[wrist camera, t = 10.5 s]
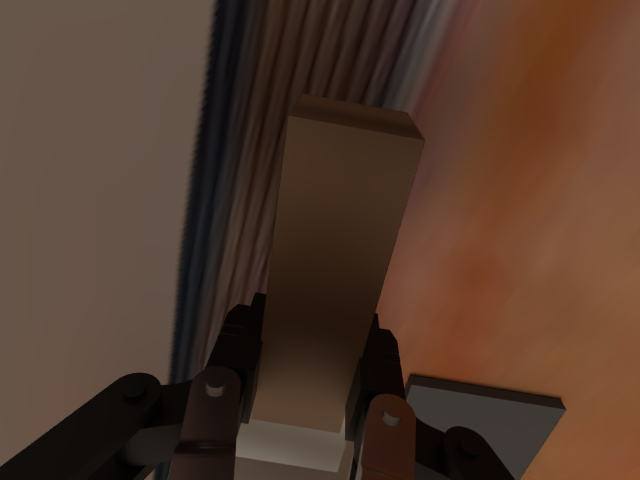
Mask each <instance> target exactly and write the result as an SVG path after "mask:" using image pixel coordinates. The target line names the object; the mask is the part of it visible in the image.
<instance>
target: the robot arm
mask: <svg viewBox="0 0 640 480" xmlns="http://www.w3.org/2000/svg"><path fill="white" fill-rule="evenodd" d="M265 302H266V294H262V293H255V294H254V297H253V300H252V303H251V306H247V305H241V304H237V305H236V306H235V307H234V308H233V309H232V310H230V311H229V312H228V314H227V317H226V319H225V321H224V325H223V326H222V329H221V331H220V334H219V336H218V338H217V341H216V343H215V346H214V348H213V351H212V353H211V355H210V358H209V360H208V363H207V365H206V367H205V369H203V370H201V371H200V372H198V373H197V374H196V375H195V377H194V378H193V379H192V380H189V381H187V382H183V383H178V384H169V385H161V384H160V382H159V380H158V379H157V378H156V377H154V376H152V375H150V374H147V373H132V374H128V375H125V376H123V377H121V378H119V379H118V380H116V381H115V382H113V383H112V384H111V385H109V386H108V387H107V388H105V389H104V390H103V391H101V392H100V393H99V394H97V395H96V396H95V397H93V398H92V399H91V400H89V401H88V402H87V403H85V404H84V405H83V406H81V407H80V408H78V409H77V410H76V411H74V412H73V413H72V414H70V415H69V416H68V417H66V418H65V419H64V420H62V421H61V422H60V423H59V424H57V425H56V426H54V427H53V428H52V429H50V430H49V431H48V432H46V433H45V434H44V435H42V436H41V437H40V438H38V439H37V440H36V441H34V442H33V443H32V444H30V445H29V446H28V447H26V448H25V449H24V450H22V451H21V452H20V453H18V454H17V455H15V456H14V457H13V458H11V459H10V460H9V461H7V462H6V463H5V464H3V465H2V466H1V467H0V480H144V479H145V478H146V477H147V476H148V475H149V474H150V473H151V472H152V471H153V470H154V469H155V468H156V466H157V465H158V464H159V463H161V462H167V461H172V462H171V467H170V472H169V476H168V480H234V470H235V457H236V439H237V436H238V433H239V429H240V425H241V423H244V424H249V420H250V416H251V412H252V408H253V404H254V400H255V396H256V392H257V384H258V376H259V368H260V360H261V352H262V344H263V341H261V334H262V326H263V318H264V310H265ZM345 440H346V441H352V442H354V454H353V457H352V460H351V463H350V469H349V475H348V480H515V479H514V477H513V476H512V475H511V473H510V472H509V471H508V469H507V468H506V467H505V465H504V464H503V463H502V461H501V460H500V459H499V457H498V456H497V455H496V453H495V452H494V451H493V449H492V448H491V446H490V445H489V444H488V443H487V441H486V440H485V439H484V438H483V437H482V436H481V435H479V434H478V433H477V432H475V431H474V430H471V429H469V428H466V427H462V426H455V427H451V428H449V429H448V430H447V431H446V432H442V431H440V430H438V429H436V428H434V427H432V426H429V425H427V424H425V423H424V422H422V421H421V420H420V419H418V418H417V417H416V416H415V413H414V410H413V409H412V407H411V406H410V405H409V404H408V403H407V402H406V396H405V390H404V383H403V377H402V370H401V365H400V357H399V350H398V343H397V340H396V339H395V337H394V336H393V334H392V333H391V331H390V330H387V329H381V328H379V322H378V314H377V313H375V314H374V318H373V321H372V324H371V328H370V331H369V335H368V338H367V341H366V345H365V348H364V352H363V355H362V357H359V361H358V364H357V368H356V371H355V375H354V378H353V382H352V385H351V389H350V392H349V396H348V399H347V403H346V406H345Z"/></svg>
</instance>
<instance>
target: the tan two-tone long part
mask: <svg viewBox="0 0 640 480" xmlns="http://www.w3.org/2000/svg"><path fill="white" fill-rule="evenodd" d="M424 143H425V139H424V138H423V136H422V135H421V133H420V132H419V130H418V128H417V127H416V125H415V124H414V122H413V121H412V119H411V117H410V116H409V114H408V113H406V112H401V111H395V110H390V109H384V108H379V107H373V106H368V105H362V104H357V103H351V102H346V101H340V100H335V99H330V98H324V97H319V96H313V95H308V94H302V95H301V97H300V98H299V100H298V101H297V103H296V105H295V106H294V108H293V109H292V111H291V113H290V114H289V116H288V124H287V132H286V140H285V148H284V156H283V164H282V172H281V181H280V189H279V197H278V205H277V213H276V221H275V229H274V237H273V245H272V253H271V261H270V269H269V277H268V286H267V294H266V302H265V310H264V318H263V326H262V334H261V341H263V344H262V352H261V360H260V368H259V376H258V384H257V392H256V396H255V400H254V404H253V408H252V412H251V416H250V420H249V424H244V423H241V425H240V429H239V433H238V436H237V439H236V456H237V457H244V458H250V459H256V460H262V461H269V462H275V463H281V464H287V465H293V466H300V467H306V468H312V469H318V470H325V471H331V472H338V468H339V465H340V462H341V459H342V456H343V452H344V449H345V446H346V443H347V441H346V440H345V406H346V403H347V399H348V396H349V392H350V389H351V385H352V382H353V378H354V375H355V371H356V368H357V364H358V361H359V357H362V355H363V352H364V348H365V345H366V341H367V338H368V335H369V331H370V328H371V324H372V321H373V318H374V314H375V311H376V307H377V304H378V300H379V297H380V294H381V290H382V287H383V283H384V280H385V276H386V273H387V270H388V266H389V263H390V259H391V256H392V252H393V249H394V246H395V242H396V239H397V235H398V232H399V228H400V225H401V222H402V218H403V215H404V211H405V208H406V205H407V201H408V198H409V194H410V191H411V187H412V184H413V181H414V177H415V174H416V170H417V167H418V163H419V160H420V157H421V153H422V150H423V146H424Z"/></svg>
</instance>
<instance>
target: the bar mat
mask: <svg viewBox="0 0 640 480" xmlns="http://www.w3.org/2000/svg"><path fill="white" fill-rule="evenodd" d="M405 396H406V402H407V403H408V404H409V405H410V406H411V407H412V409H413V410H414V413H415V416H416V417H417V418H418V419H420V420H421V421H422V422H424V423H425V424H427V425H429V426H432V427H434V428H436V429H438V430H440V431H442V432H446V431H447V430H448V429H449V428H451V427H455V426H462V427H466V428H469V429H471V430H474V431H475V432H477V433H478V434H479V435H481V436H482V437H483V438H484V439H485V440H486V441H487V443H488V444H489V445H490V446H491V448H492V449H493V451H494V452H495V453H496V455H497V456H498V457H499V459H500V460H501V461H502V463H503V464H504V465H505V467H506V468H507V469H508V471H509V472H510V473H511V475H512V476H513V477H514V479H515V480H520V478H521V477H522V475H523V474H524V472H525V471H526V469H527V468H528V466H529V465H530V463H531V462H532V460H533V459H534V457H535V456H536V454H537V453H538V451H539V450H540V448H541V447H542V445H543V444H544V442H545V441H546V439H547V438H548V436H549V435H550V433H551V432H552V430H553V429H554V427H555V426H556V424H557V423H558V421H559V420H560V418H561V417H562V415H563V414H564V412H565V411H566V408H565V406H564V405H563V403H562V401H561V399H555V398H549V397H542V396H536V395H530V394H524V393H518V392H512V391H505V390H499V389H493V388H487V387H481V386H474V385H468V384H462V383H456V382H450V381H444V380H437V379H431V378H425V377H419V376H413V375H410V377H409V380H408V382H407V385H406V388H405Z"/></svg>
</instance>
